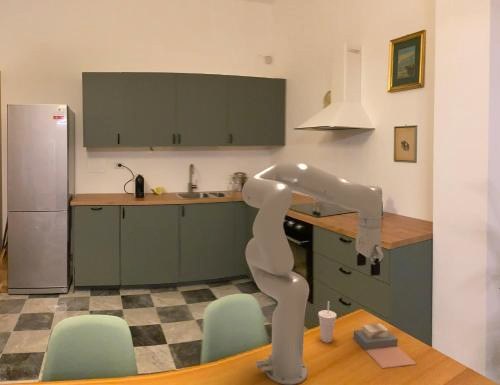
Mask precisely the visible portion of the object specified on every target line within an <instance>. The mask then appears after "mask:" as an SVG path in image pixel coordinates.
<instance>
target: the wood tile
mask: <svg viewBox="0 0 500 385" xmlns="http://www.w3.org/2000/svg"><path fill="white" fill-rule="evenodd" d="M361 330H362V332H363V333H364V334H365V335H366V336H367V337H368V338H369V339H374V338H383V337H388V331H389V329H388V328H386V327H385V326H384V325H383V324H381V323H373V324H363V325H362V329H361Z"/></svg>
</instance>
